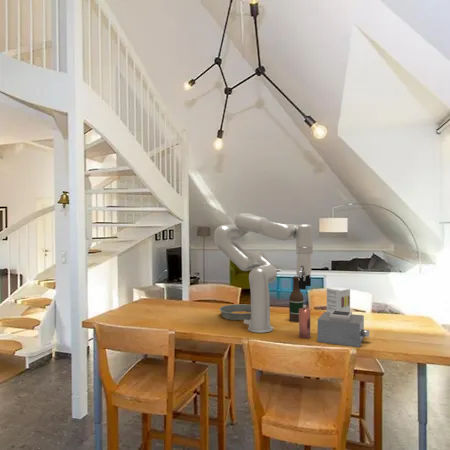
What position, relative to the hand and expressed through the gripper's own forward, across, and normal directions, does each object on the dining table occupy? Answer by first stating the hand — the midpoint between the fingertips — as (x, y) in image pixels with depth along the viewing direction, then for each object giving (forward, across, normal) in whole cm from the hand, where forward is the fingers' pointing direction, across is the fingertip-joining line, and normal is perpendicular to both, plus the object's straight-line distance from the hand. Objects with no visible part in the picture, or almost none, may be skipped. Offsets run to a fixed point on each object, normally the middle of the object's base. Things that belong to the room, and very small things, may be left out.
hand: (304, 287), depth 179 cm
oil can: (+23, 0, 0) cm, 23 cm away
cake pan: (+23, -25, -43) cm, 55 cm away
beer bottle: (+23, -27, -11) cm, 37 cm away
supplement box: (+23, -40, +9) cm, 47 cm away
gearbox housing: (+23, -3, +17) cm, 29 cm away
